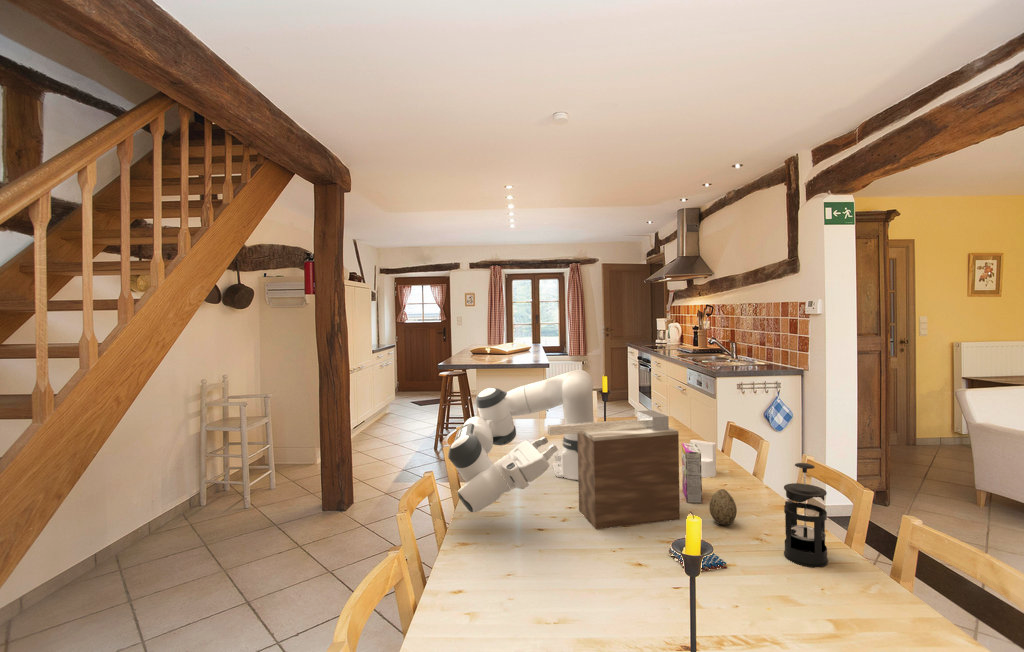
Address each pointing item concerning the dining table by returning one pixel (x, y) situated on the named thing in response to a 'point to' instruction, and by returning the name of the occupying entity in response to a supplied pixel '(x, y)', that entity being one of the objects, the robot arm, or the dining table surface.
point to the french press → (802, 534)
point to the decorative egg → (723, 507)
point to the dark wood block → (628, 477)
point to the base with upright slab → (707, 457)
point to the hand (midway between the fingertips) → (551, 442)
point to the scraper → (615, 424)
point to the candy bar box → (691, 473)
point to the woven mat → (705, 561)
